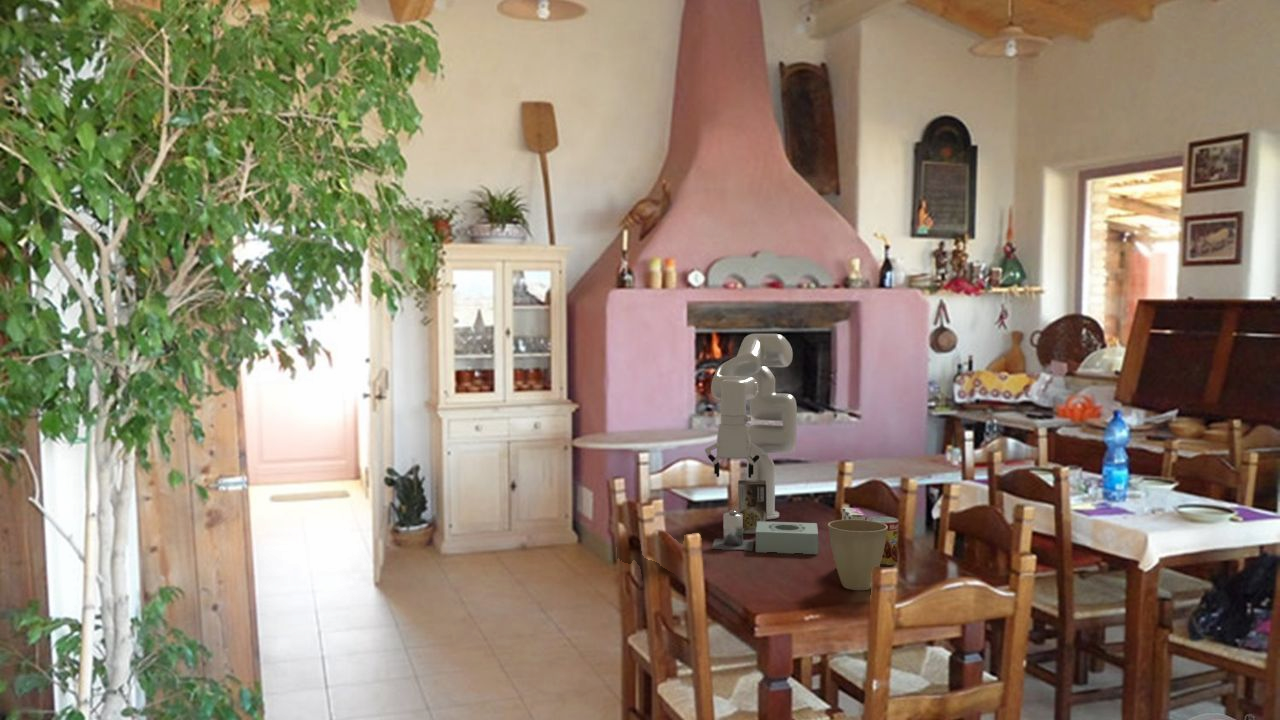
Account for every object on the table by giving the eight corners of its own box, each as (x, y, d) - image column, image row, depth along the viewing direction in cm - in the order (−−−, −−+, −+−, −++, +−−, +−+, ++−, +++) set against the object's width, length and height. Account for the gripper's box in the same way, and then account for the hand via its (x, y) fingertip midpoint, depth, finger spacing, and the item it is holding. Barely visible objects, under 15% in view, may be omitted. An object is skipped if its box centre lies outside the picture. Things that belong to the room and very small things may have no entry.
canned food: (898, 565, 264) (899, 522, 264) (869, 564, 266) (870, 521, 265) (896, 558, 272) (897, 516, 271) (868, 557, 273) (868, 515, 273)
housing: (757, 540, 293) (757, 521, 293) (816, 542, 290) (816, 523, 290) (755, 552, 279) (755, 531, 279) (818, 554, 277) (818, 533, 276)
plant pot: (899, 588, 243) (900, 526, 242) (859, 598, 234) (860, 534, 233) (854, 575, 255) (855, 516, 254) (815, 584, 246) (815, 523, 246)
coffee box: (766, 529, 308) (766, 480, 307) (766, 534, 302) (767, 483, 301) (737, 528, 309) (738, 479, 308) (738, 533, 303) (738, 483, 302)
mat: (714, 539, 294) (714, 538, 294) (753, 541, 292) (753, 540, 292) (711, 549, 282) (711, 548, 282) (752, 551, 281) (752, 549, 280)
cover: (724, 541, 291) (723, 508, 290) (743, 541, 290) (743, 509, 289) (723, 546, 285) (722, 513, 284) (742, 546, 284) (742, 513, 284)
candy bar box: (866, 576, 254) (867, 515, 253) (847, 576, 254) (848, 515, 253) (858, 565, 265) (859, 506, 264) (840, 565, 265) (840, 506, 264)
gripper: (763, 418, 288) (763, 474, 289) (705, 418, 291) (706, 473, 292) (762, 422, 280) (762, 479, 282) (703, 422, 283) (704, 478, 285)
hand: (733, 476), depth 287 cm, fingers open, 9 cm apart
